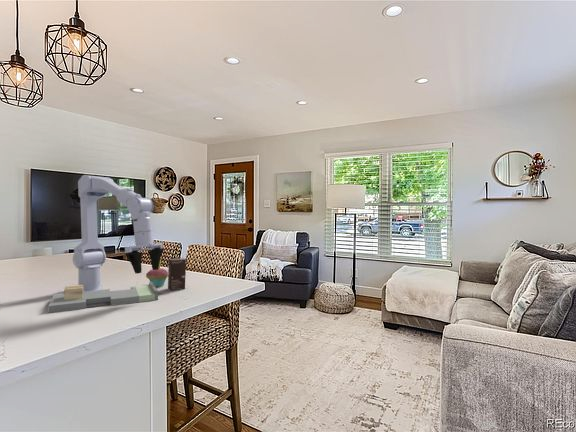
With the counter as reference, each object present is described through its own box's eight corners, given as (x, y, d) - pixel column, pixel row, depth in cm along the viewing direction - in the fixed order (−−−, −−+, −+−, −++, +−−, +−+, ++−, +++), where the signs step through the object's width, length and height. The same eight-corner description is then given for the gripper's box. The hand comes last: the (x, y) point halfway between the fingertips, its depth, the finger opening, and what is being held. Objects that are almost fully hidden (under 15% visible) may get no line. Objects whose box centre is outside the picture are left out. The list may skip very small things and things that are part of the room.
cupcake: (172, 285, 134) (172, 256, 134) (154, 289, 127) (154, 259, 127) (159, 282, 139) (160, 254, 138) (141, 286, 131) (141, 257, 131)
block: (65, 296, 107) (65, 286, 107) (83, 294, 109) (83, 284, 109) (64, 300, 103) (64, 289, 102) (82, 298, 105) (82, 287, 105)
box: (170, 290, 125) (170, 260, 124) (167, 288, 128) (168, 258, 128) (186, 289, 128) (186, 259, 128) (182, 286, 132) (183, 257, 131)
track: (54, 300, 109) (54, 290, 109) (151, 290, 125) (151, 281, 125) (48, 312, 96) (48, 302, 96) (157, 299, 112) (158, 290, 112)
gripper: (134, 231, 102) (138, 274, 102) (167, 229, 116) (171, 267, 115) (118, 234, 105) (122, 275, 104) (152, 232, 118) (156, 268, 118)
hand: (147, 271), depth 110 cm, fingers open, 7 cm apart
